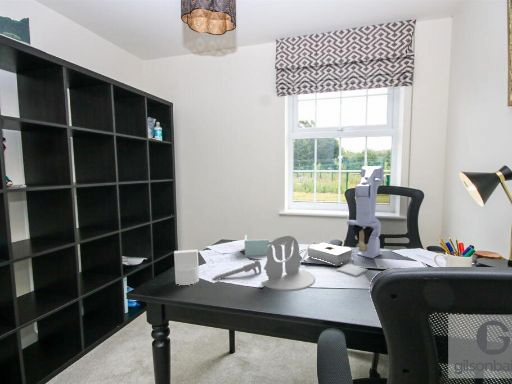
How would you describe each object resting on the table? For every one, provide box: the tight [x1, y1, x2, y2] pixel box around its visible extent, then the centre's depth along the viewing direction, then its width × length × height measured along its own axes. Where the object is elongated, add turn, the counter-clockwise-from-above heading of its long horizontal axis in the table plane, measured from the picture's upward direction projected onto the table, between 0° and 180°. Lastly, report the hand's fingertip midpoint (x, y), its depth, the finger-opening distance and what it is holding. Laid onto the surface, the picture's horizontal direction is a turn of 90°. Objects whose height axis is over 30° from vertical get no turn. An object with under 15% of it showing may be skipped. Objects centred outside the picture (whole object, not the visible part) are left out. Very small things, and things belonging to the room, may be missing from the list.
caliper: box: [211, 258, 262, 280], centre depth 112 cm, size 20×1×6 cm, turn 107°
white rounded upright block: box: [173, 248, 200, 286], centre depth 109 cm, size 9×9×12 cm
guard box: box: [307, 242, 353, 267], centre depth 131 cm, size 12×16×5 cm
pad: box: [336, 263, 368, 277], centre depth 116 cm, size 9×9×1 cm
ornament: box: [260, 235, 316, 292], centre depth 105 cm, size 22×13×17 cm, turn 123°
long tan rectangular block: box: [358, 230, 367, 252], centre depth 120 cm, size 2×2×9 cm
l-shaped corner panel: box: [244, 234, 270, 256], centre depth 145 cm, size 12×12×8 cm
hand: (363, 243), depth 121 cm, fingers closed on long tan rectangular block, 2 cm apart
